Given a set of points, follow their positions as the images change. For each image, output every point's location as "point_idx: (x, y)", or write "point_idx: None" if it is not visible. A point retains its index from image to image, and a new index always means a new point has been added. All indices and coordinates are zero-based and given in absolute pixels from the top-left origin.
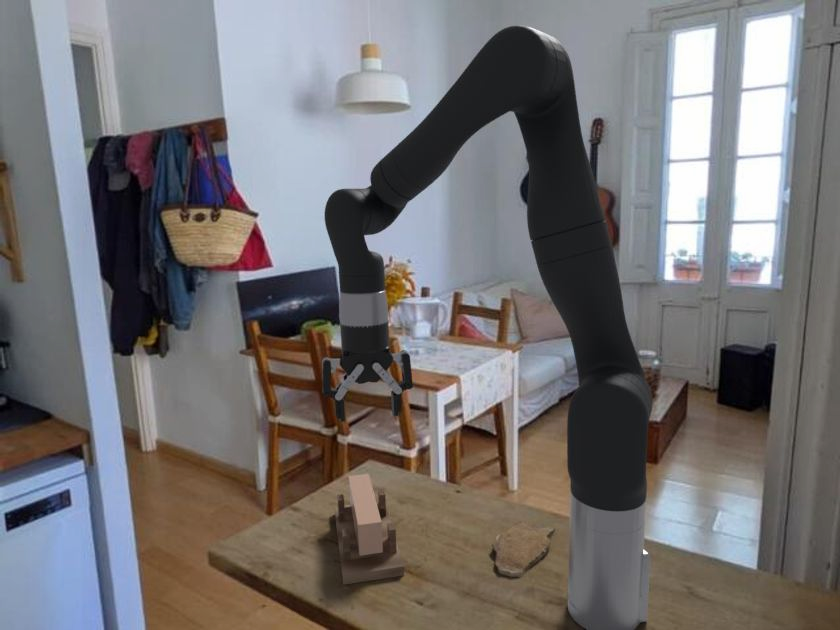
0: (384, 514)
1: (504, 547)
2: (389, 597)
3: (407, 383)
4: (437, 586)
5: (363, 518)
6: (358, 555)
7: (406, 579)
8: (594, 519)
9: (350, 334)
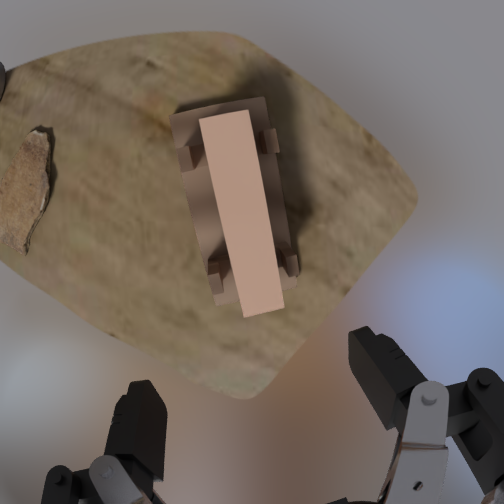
0: (210, 259)
1: (36, 181)
2: (192, 72)
3: (62, 490)
4: (124, 97)
5: (238, 133)
6: None
7: (167, 109)
8: None
9: None
